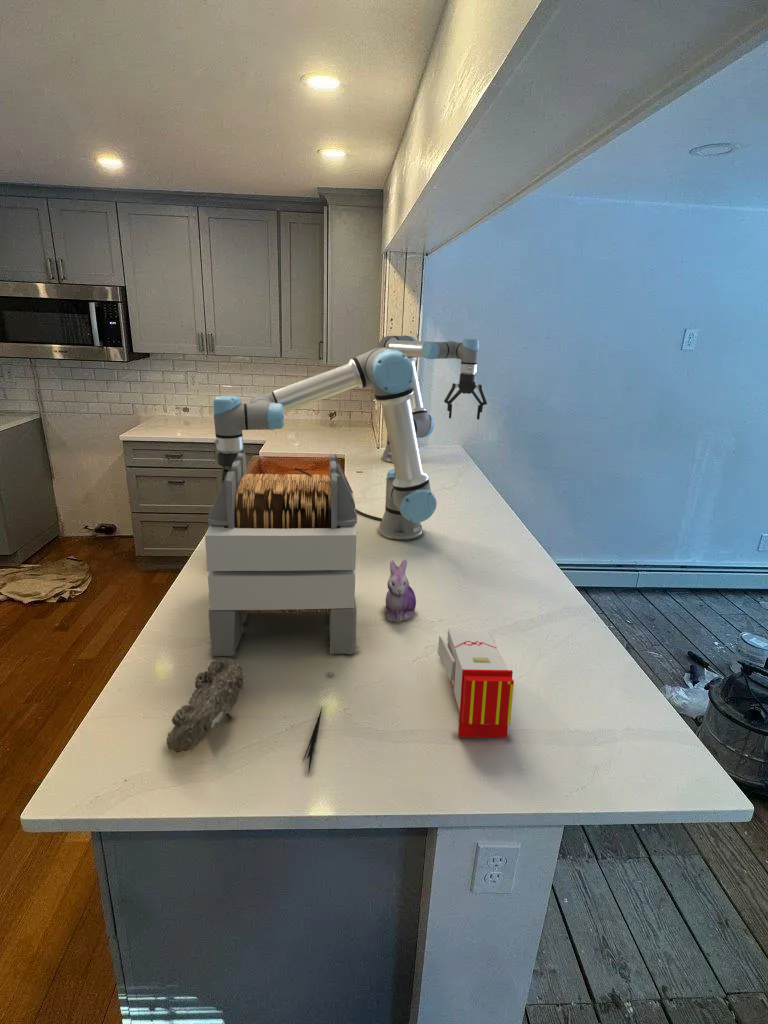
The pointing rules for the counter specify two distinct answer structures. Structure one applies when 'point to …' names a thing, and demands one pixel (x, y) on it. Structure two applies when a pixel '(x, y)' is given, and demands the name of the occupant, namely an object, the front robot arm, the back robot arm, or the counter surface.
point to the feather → (313, 740)
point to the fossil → (206, 705)
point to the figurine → (399, 594)
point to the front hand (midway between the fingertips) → (234, 519)
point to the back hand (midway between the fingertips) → (463, 418)
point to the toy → (478, 682)
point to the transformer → (281, 552)
